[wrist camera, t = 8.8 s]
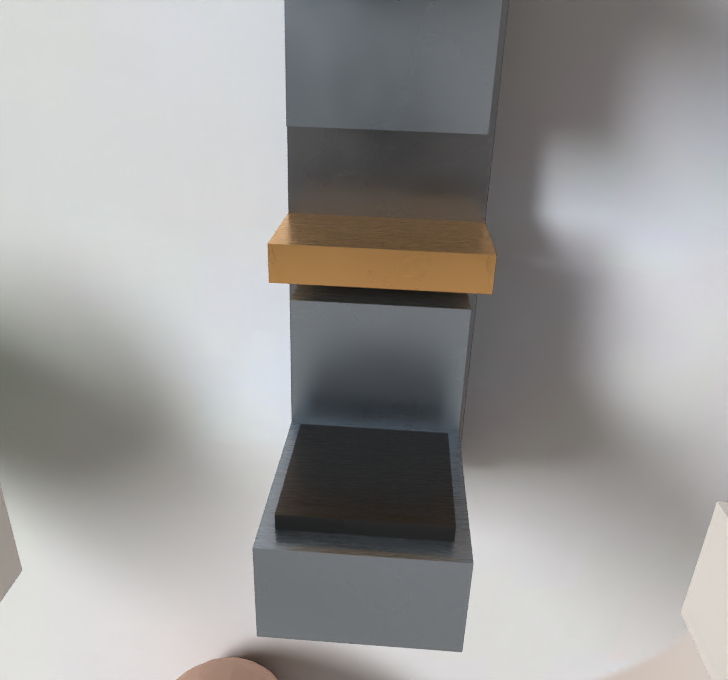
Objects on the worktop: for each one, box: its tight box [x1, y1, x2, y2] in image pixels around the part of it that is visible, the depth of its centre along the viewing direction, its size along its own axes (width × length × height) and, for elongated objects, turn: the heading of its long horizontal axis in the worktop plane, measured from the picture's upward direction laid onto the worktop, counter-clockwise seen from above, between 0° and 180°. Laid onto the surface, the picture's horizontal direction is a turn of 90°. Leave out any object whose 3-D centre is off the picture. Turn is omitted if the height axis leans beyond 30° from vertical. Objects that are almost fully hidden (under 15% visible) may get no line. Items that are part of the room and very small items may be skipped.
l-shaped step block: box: [253, 284, 473, 652], centre depth 17 cm, size 6×4×8 cm
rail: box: [268, 0, 509, 447], centre depth 16 cm, size 18×6×10 cm, turn 178°
